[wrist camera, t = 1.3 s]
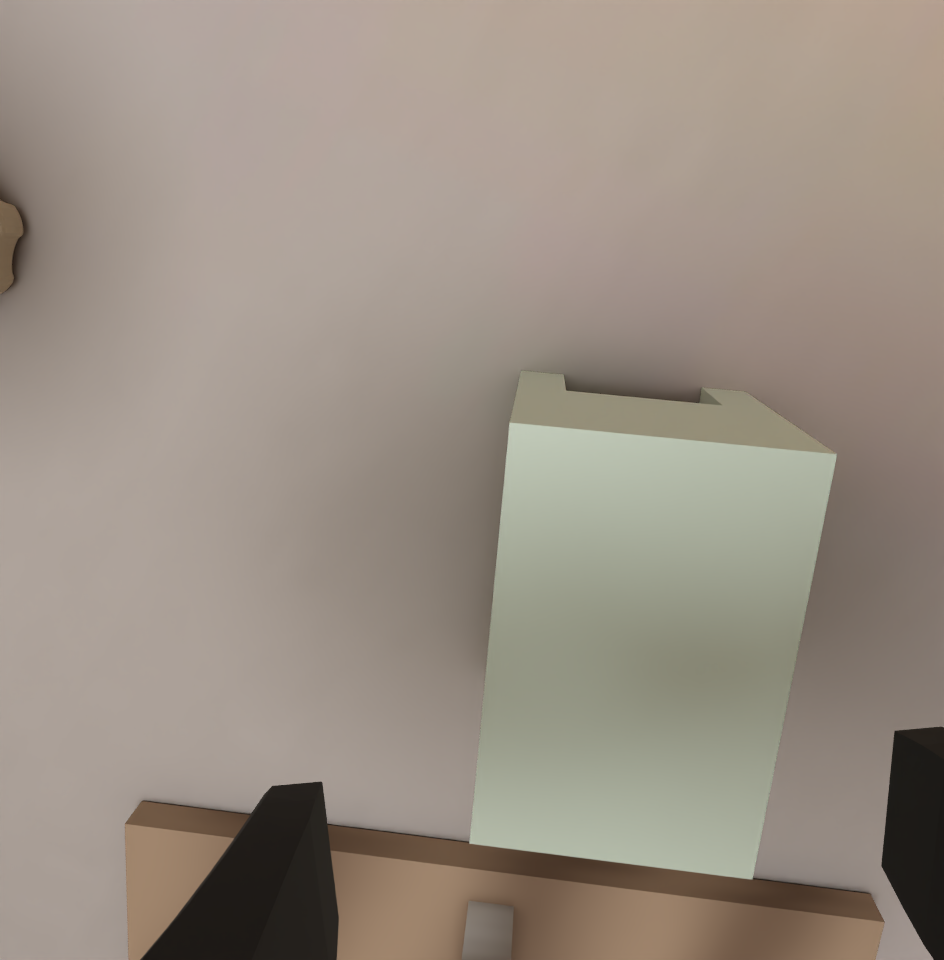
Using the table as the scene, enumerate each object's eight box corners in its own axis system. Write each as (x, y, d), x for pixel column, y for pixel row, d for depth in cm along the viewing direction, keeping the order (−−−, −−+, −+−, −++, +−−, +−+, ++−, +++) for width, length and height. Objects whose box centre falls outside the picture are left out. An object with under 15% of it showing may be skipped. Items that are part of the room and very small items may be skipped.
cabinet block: (745, 391, 20) (837, 454, 14) (693, 700, 22) (752, 879, 16) (521, 370, 20) (509, 422, 14) (491, 677, 22) (469, 843, 16)
